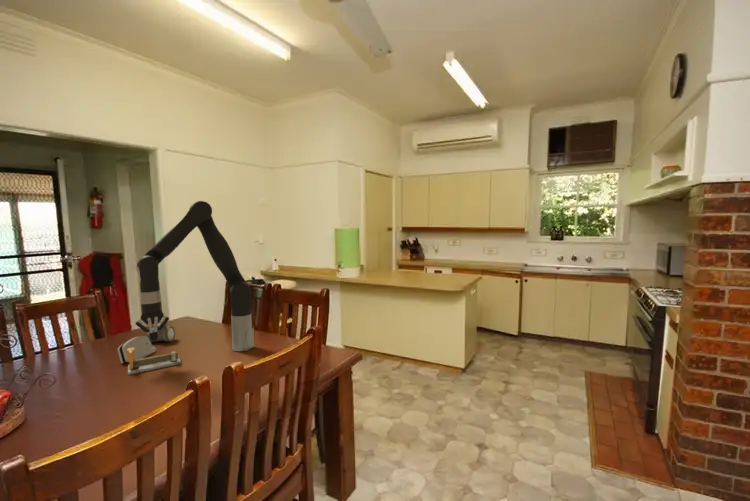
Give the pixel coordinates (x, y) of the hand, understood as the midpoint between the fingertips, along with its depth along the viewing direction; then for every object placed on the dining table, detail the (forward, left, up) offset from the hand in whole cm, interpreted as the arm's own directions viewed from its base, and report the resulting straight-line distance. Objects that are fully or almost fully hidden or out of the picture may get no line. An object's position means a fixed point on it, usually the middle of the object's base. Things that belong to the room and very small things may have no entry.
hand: (154, 340), depth 152 cm
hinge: (+16, -7, -11) cm, 20 cm away
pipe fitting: (+22, -27, -11) cm, 36 cm away
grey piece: (-1, +2, -11) cm, 11 cm away
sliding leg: (+5, +7, -9) cm, 13 cm away
